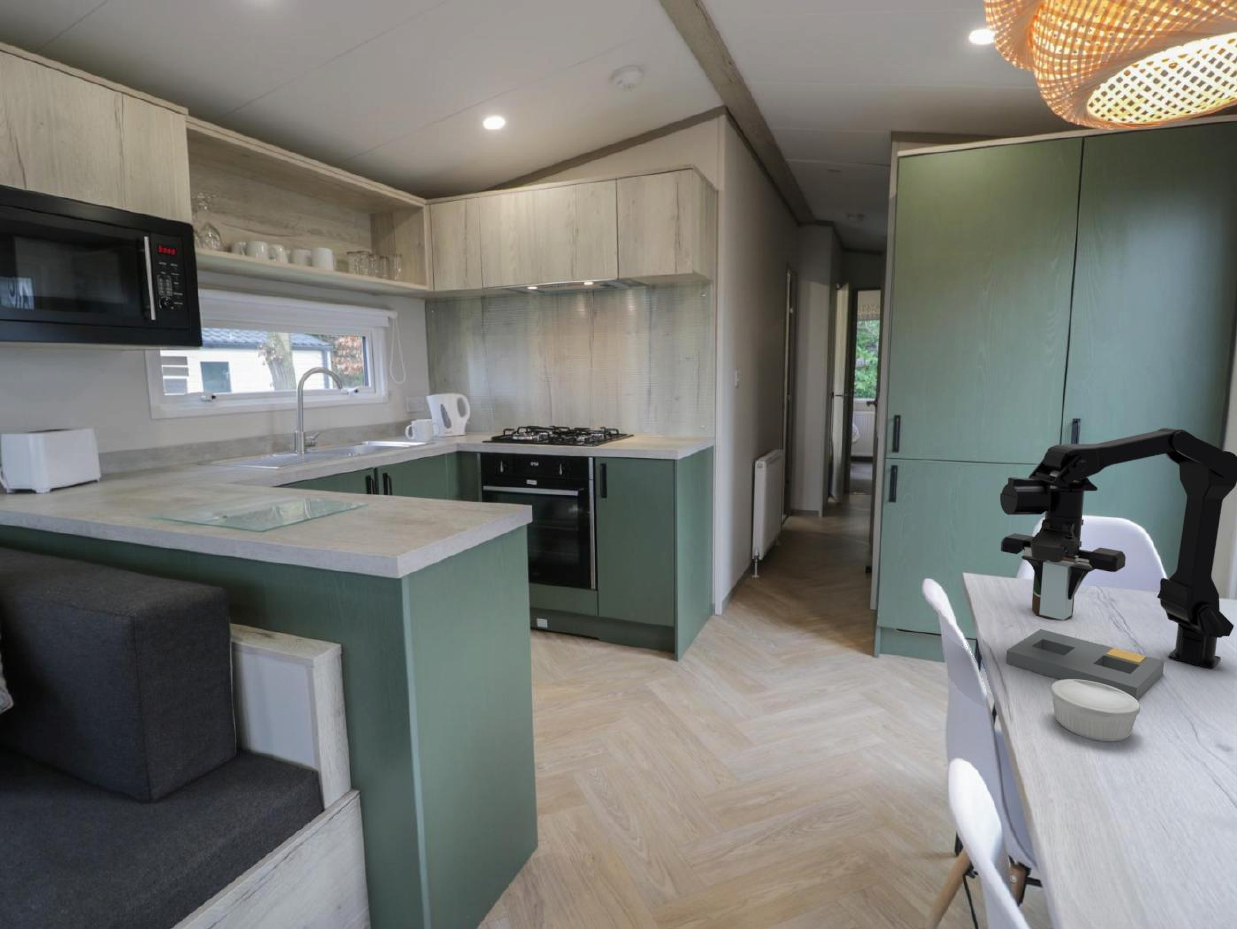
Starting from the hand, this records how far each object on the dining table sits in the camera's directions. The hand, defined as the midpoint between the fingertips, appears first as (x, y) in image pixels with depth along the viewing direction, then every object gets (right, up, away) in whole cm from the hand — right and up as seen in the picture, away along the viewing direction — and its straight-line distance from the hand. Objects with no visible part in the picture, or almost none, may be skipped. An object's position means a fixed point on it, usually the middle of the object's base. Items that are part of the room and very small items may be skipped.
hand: (1056, 596), depth 127 cm
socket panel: (+3, -13, -2) cm, 13 cm away
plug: (0, -4, +1) cm, 4 cm away
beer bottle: (+15, -9, +25) cm, 30 cm away
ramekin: (-9, -16, -22) cm, 29 cm away
